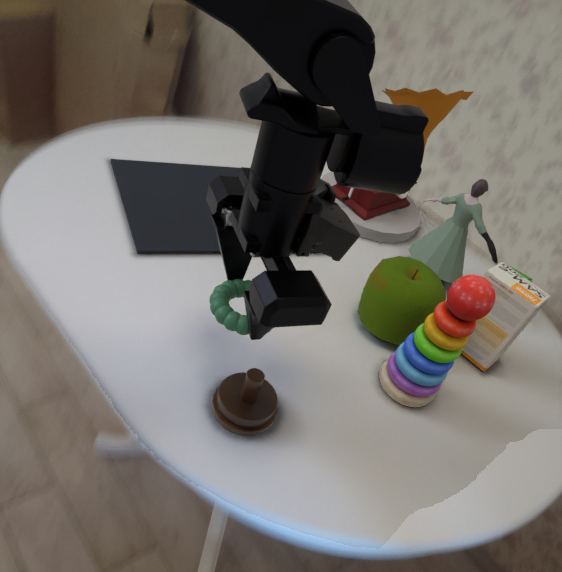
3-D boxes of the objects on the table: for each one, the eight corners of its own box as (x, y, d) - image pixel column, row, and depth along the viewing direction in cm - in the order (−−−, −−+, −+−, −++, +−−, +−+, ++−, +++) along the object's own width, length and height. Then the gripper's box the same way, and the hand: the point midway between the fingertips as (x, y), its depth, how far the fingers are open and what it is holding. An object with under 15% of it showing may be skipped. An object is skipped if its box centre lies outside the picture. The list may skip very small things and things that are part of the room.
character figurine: (479, 300, 87) (547, 208, 74) (454, 315, 82) (522, 219, 69) (411, 245, 93) (462, 151, 80) (383, 256, 88) (433, 157, 75)
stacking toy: (365, 381, 67) (434, 269, 54) (395, 354, 72) (465, 246, 59) (414, 420, 65) (498, 313, 51) (441, 390, 70) (525, 285, 56)
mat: (137, 253, 72) (137, 251, 71) (110, 161, 85) (110, 158, 84) (334, 253, 85) (335, 250, 84) (285, 173, 98) (285, 170, 98)
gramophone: (436, 228, 100) (512, 96, 81) (371, 253, 88) (444, 105, 69) (362, 172, 107) (416, 39, 89) (293, 188, 95) (340, 38, 77)
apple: (430, 355, 74) (470, 299, 66) (364, 352, 71) (397, 293, 63) (404, 302, 81) (438, 246, 73) (342, 297, 78) (370, 238, 70)
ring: (218, 342, 50) (222, 328, 48) (199, 289, 54) (202, 275, 53) (288, 337, 53) (294, 324, 52) (265, 288, 57) (270, 274, 56)
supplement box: (497, 360, 78) (553, 296, 68) (482, 373, 75) (539, 307, 65) (455, 326, 80) (503, 259, 71) (439, 337, 78) (487, 269, 68)
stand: (221, 440, 55) (232, 408, 51) (203, 386, 60) (212, 351, 55) (285, 430, 59) (300, 398, 54) (263, 379, 63) (276, 346, 58)
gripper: (416, 247, 40) (345, 373, 52) (327, 128, 51) (284, 255, 62) (289, 245, 36) (242, 384, 47) (219, 114, 46) (194, 254, 57)
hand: (244, 311), depth 53 cm, fingers closed on ring, 7 cm apart
